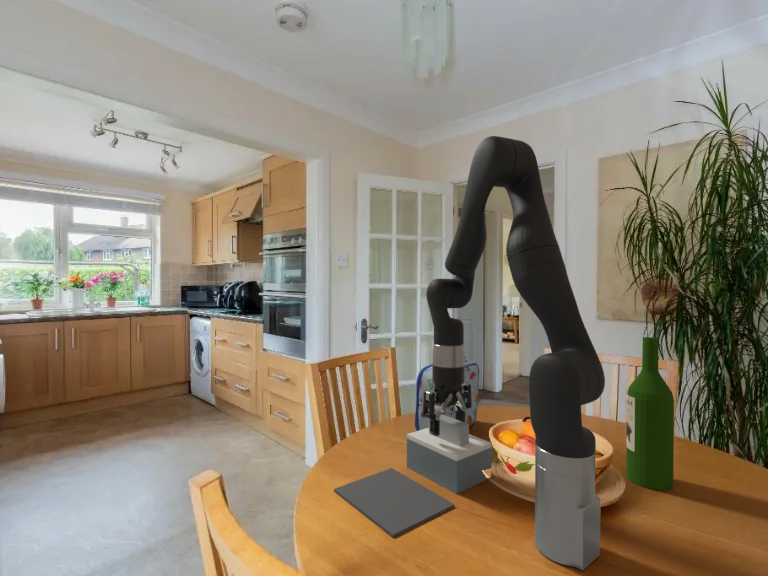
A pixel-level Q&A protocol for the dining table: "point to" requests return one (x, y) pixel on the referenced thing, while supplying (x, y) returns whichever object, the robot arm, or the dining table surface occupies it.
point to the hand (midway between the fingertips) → (447, 431)
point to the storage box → (448, 467)
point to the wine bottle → (650, 424)
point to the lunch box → (427, 384)
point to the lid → (450, 439)
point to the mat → (393, 501)
